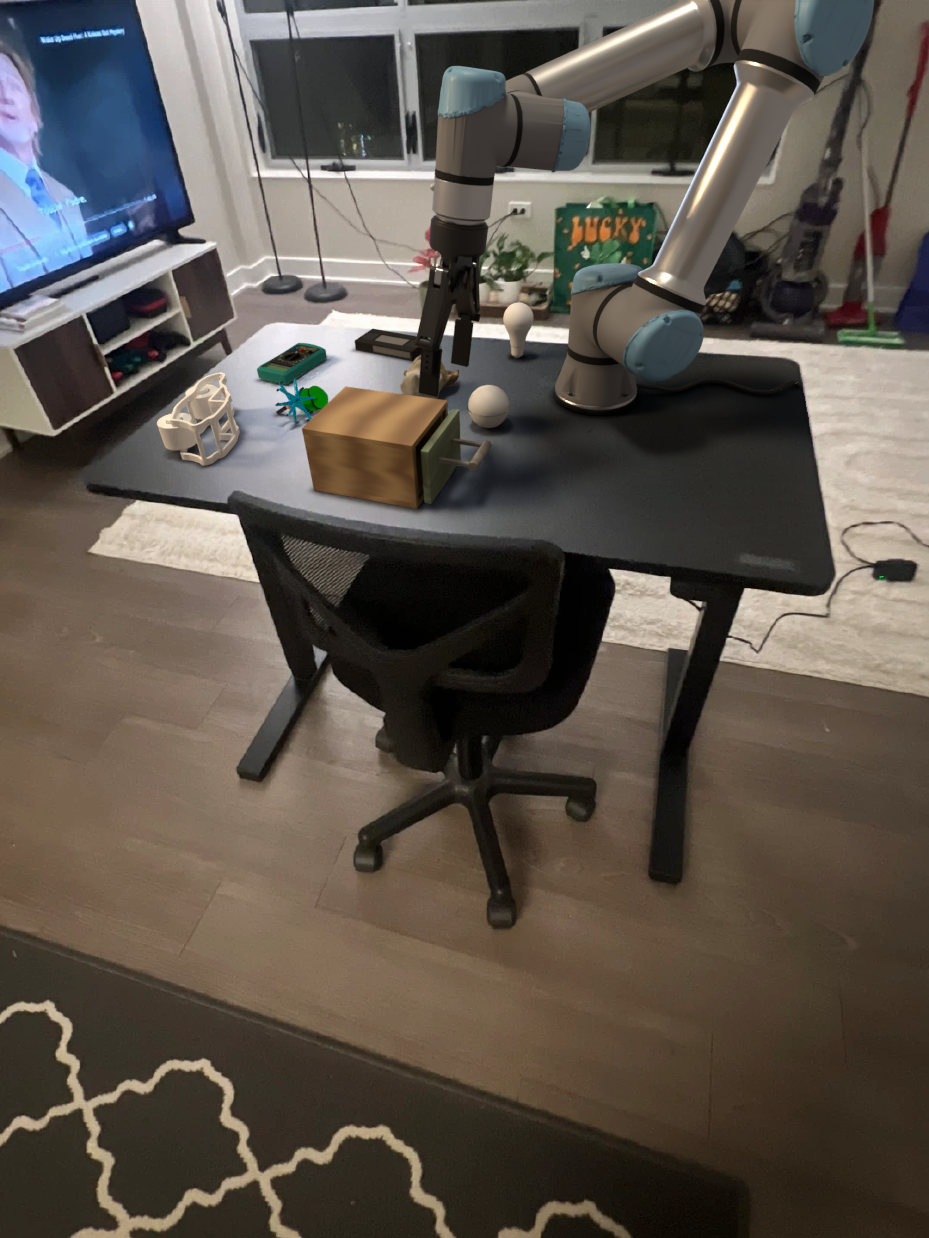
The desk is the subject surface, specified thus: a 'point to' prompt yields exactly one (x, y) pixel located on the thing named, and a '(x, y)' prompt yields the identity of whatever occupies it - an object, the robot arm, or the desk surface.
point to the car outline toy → (205, 405)
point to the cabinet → (370, 444)
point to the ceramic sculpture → (413, 374)
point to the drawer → (443, 455)
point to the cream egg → (488, 406)
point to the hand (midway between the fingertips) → (444, 378)
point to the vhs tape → (388, 344)
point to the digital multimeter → (292, 363)
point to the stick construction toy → (303, 400)
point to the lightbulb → (518, 326)
